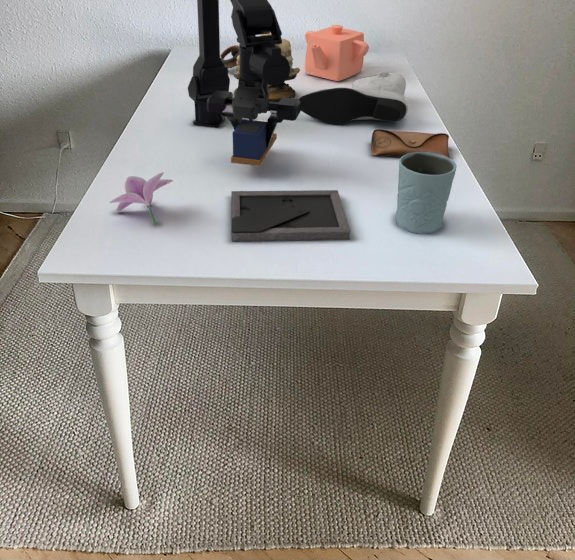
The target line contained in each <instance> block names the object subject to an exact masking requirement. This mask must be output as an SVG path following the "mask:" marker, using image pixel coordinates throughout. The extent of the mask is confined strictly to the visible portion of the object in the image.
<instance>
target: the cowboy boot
mask: <svg viewBox="0 0 575 560" xmlns="http://www.w3.org/2000/svg"><path fill="white" fill-rule="evenodd" d="M406 88H407V80H406V78H405V76H403V75H402V74H399V73H389V72H382V73H380V74H378V75H372V76H367V77H361V78H357V79H356V80H354V81H353V83H352V87H343V86H342V87H332V88H324V89H318V90H314V91H311V92H309V93H306V94H303V95H301V96H300V97H298V99H299V101H300V102H301V113H304V114H305V115H307V116H308V117H311V118H313V119H315V120H316V121H319V122H321V123H325V124H328V125H333V126H340V125H345V124H347V123H350V122H352V121H358V120H359V121H363V120H364V121H365V120H366V121H367V120H374V121H375V120H376V121H381V122H390V123H392V122H394V123H395V122H399V121H401V120H403V119H404V118H405V117H406V114H407V113H408V110H409V109H408V102H407V101H406V98H405V92H406Z"/></svg>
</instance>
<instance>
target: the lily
mask: <svg viewBox="0 0 575 560" xmlns="http://www.w3.org/2000/svg"><path fill="white" fill-rule="evenodd" d="M164 173H165V172H163V171H162V172H160V173H158V174H156V175H154V176H152V177H151V178H149V179H148V180H146V179H145V178H144V177H140V176H135V175H131V176H128V177H126V179H125V182H124V190H125V193H122V194H120V195H119V196H117V197H114V198H113V199H112V200H111V201H109V204H117V203H118V205H117V206H116V209H115V213H119V212H121V211H123V210H124V209H125V208H127V207H129V206H131V205H132V204H142V205H146V207H147V209H148V211H149V214H150V215H151V219H152V220H153V222H154V224H155V225H157V224H158V223H157V221H156V219H155V216H154V214H153V212H152V210H151V207H150V205H152V202H153V197H154V192H156V191H157V190H159V189H160V188H163V187H165V186H166V185H169V184H171V183H172V182H174V180H173V179H171V178H170V179H168V178H163V179H161V178H162V177H163V175H164Z"/></svg>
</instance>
